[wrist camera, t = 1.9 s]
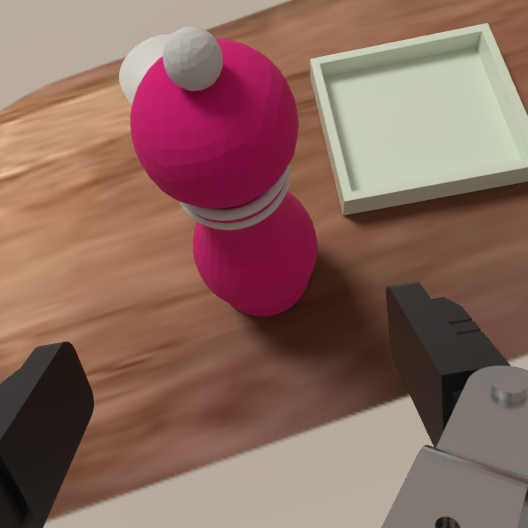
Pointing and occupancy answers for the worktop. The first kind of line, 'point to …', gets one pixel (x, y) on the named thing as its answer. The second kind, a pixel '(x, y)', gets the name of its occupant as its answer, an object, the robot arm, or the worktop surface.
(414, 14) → the worktop surface
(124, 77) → the grey rounded block
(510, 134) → the tray
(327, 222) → the worktop surface
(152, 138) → the pepper mill
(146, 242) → the worktop surface
